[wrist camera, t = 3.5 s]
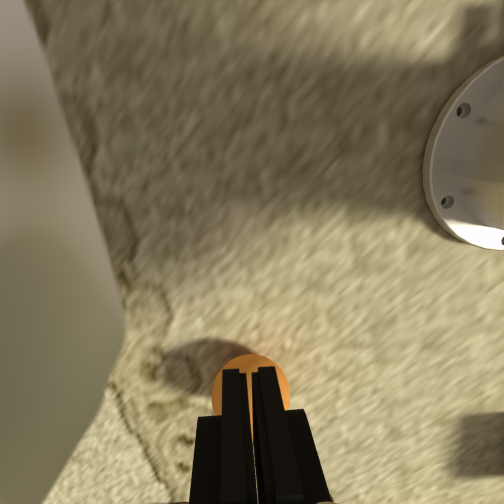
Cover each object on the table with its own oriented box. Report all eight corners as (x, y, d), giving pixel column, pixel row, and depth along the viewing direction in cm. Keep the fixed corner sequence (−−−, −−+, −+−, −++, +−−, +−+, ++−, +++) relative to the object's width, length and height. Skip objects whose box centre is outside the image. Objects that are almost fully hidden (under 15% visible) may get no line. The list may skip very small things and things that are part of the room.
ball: (211, 340, 25) (206, 394, 20) (284, 337, 25) (297, 389, 20) (215, 399, 27) (211, 462, 21) (283, 395, 27) (295, 456, 22)
